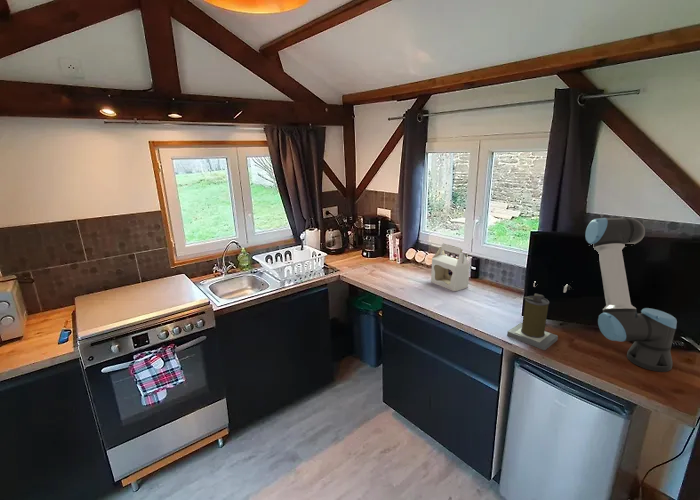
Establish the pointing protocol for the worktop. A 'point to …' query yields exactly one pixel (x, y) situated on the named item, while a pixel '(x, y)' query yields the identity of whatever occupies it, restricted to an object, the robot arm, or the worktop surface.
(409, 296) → the worktop surface
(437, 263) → the gable box
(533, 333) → the canister
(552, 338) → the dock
